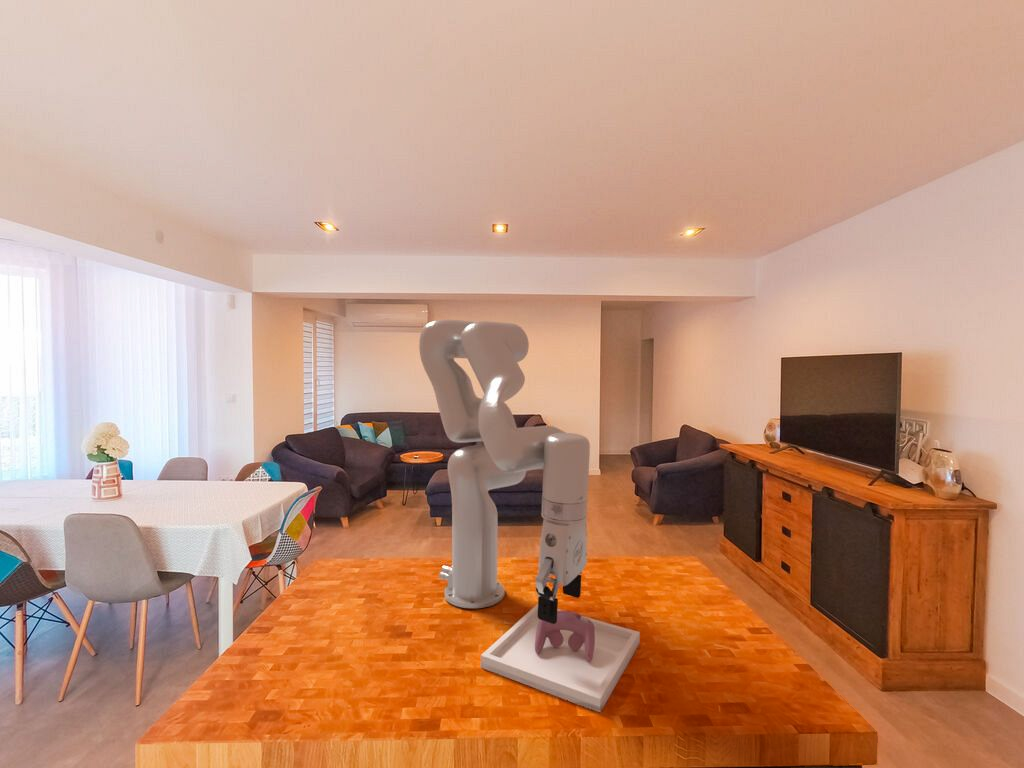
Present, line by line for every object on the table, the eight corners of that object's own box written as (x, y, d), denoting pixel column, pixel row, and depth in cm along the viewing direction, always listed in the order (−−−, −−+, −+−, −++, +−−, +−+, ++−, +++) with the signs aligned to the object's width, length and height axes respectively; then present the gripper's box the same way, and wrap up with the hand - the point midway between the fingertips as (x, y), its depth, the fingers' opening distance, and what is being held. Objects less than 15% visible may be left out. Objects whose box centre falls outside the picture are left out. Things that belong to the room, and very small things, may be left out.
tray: (480, 667, 77) (480, 655, 77) (537, 613, 95) (537, 603, 95) (600, 713, 67) (600, 698, 67) (639, 643, 85) (639, 632, 85)
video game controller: (595, 661, 80) (597, 615, 83) (592, 663, 76) (595, 614, 79) (536, 652, 83) (540, 607, 86) (531, 653, 79) (536, 606, 82)
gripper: (563, 528, 71) (558, 640, 72) (603, 499, 86) (598, 592, 87) (519, 517, 75) (515, 624, 76) (564, 492, 90) (560, 581, 91)
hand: (559, 607), depth 82 cm, fingers open, 9 cm apart
